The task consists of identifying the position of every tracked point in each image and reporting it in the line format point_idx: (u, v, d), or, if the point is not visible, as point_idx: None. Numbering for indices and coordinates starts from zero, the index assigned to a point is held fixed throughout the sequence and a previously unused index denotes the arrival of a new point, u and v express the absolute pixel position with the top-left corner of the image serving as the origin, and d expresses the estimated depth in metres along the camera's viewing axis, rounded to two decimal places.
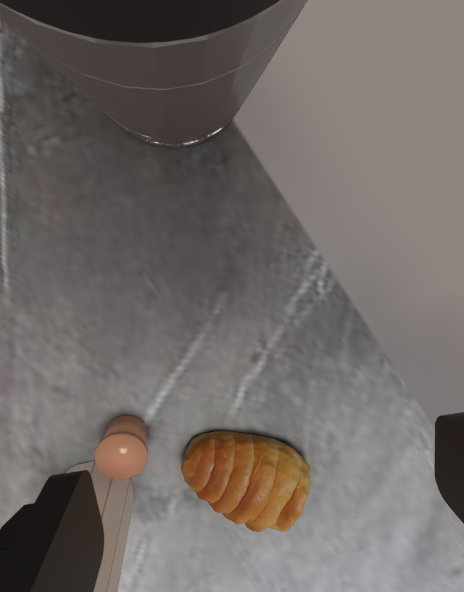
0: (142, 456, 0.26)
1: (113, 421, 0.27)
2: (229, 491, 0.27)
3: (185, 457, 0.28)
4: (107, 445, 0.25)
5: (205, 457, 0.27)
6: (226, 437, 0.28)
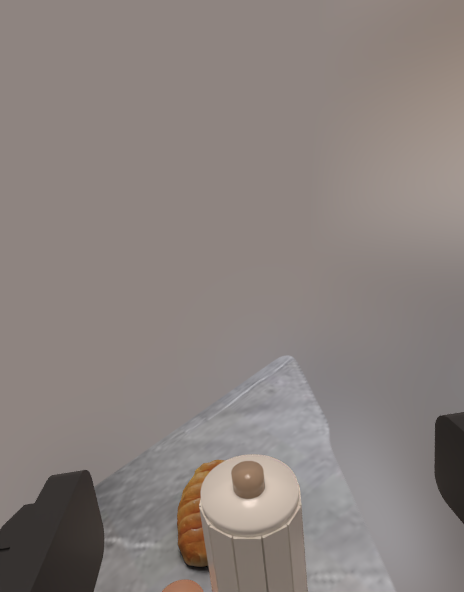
0: (177, 584, 0.27)
1: None
2: None
3: (199, 560, 0.30)
4: None
5: (188, 539, 0.31)
6: (178, 536, 0.33)
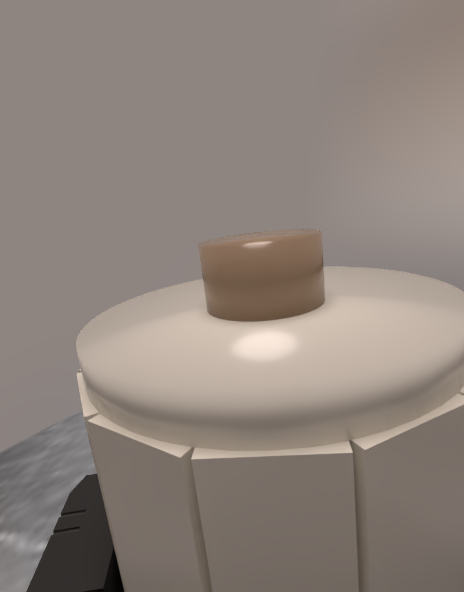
0: None
1: None
2: None
3: None
4: None
5: None
6: None
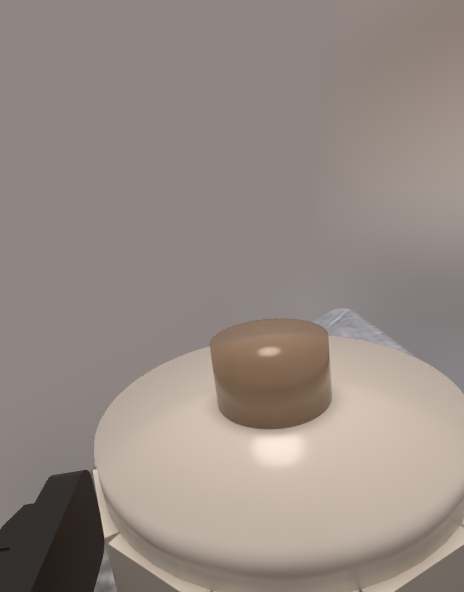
0: None
1: None
2: None
3: None
4: None
5: None
6: None
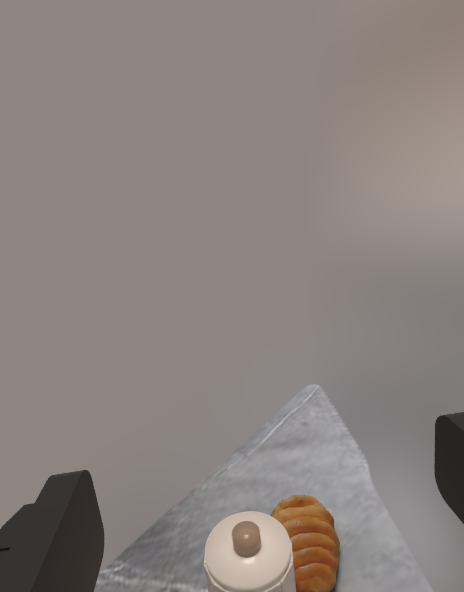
0: None
1: None
2: (308, 543, 0.35)
3: None
4: None
5: (300, 577, 0.33)
6: None
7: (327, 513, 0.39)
